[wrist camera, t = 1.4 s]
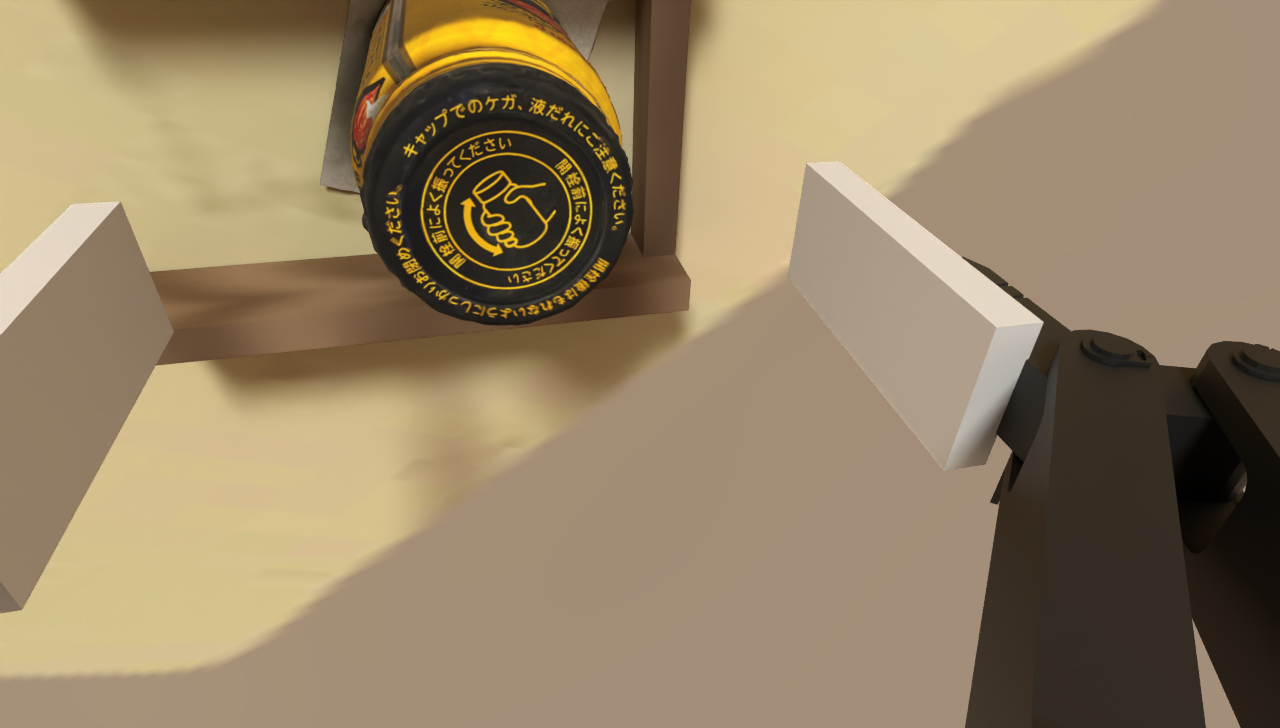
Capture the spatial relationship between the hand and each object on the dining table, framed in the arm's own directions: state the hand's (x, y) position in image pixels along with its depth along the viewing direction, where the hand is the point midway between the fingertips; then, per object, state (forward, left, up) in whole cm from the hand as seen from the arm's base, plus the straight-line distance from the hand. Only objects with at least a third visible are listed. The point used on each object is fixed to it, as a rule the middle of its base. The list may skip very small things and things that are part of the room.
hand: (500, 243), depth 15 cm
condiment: (0, 0, -12) cm, 12 cm away
